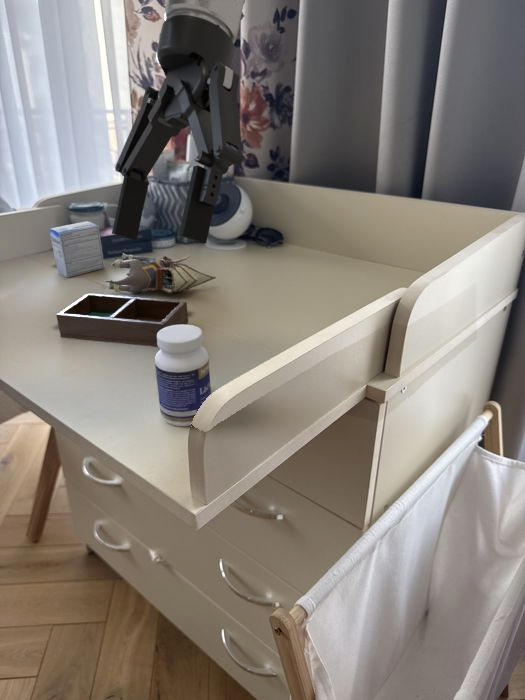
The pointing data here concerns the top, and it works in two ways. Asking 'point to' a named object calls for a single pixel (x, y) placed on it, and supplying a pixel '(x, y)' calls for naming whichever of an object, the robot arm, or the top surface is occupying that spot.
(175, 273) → the figurine
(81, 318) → the tray
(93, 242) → the medicine box
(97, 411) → the top surface
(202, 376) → the pill bottle
